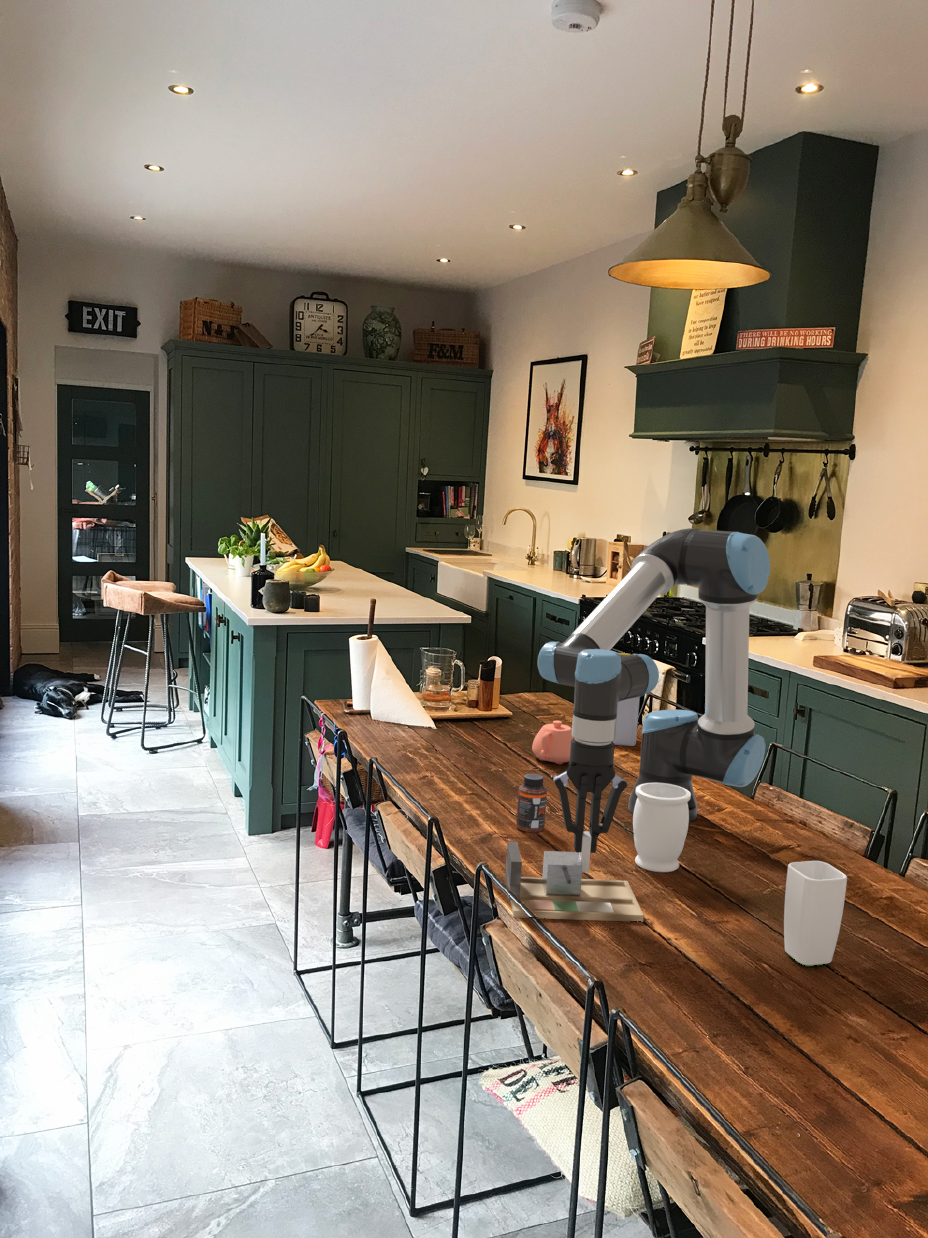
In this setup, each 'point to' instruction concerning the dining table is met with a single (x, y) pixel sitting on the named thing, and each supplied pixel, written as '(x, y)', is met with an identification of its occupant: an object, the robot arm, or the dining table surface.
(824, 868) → the cup
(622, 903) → the gauge board
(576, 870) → the block
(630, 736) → the soap bottle
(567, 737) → the sugar bowl
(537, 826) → the supplement bottle
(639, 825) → the jar
